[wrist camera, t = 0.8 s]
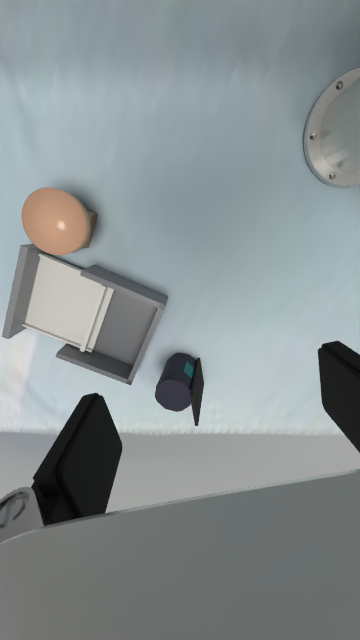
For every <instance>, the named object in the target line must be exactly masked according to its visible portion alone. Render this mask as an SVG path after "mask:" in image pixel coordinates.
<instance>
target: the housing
mask: <svg viewBox="0 0 360 640" xmlns="http://www.w3.org/2000/svg"><path fill="white" fill-rule="evenodd" d="M80 275H81V276H83V277H85V278H88V279H90V280H92V281H95V282H97V283H100V284H102V285H104V286H107V287H109V288H111V289H114V293H113V296H112V298H111V301H110V304H109V307H108V310H107V313H106V316H105V318H104V321H103V324H102V327H101V330H100V333H99V335H98V338H97V341H96V344H95V347H94V349H93V351H92V352H88V351H86V350H85V351H84V352H82V351H80V348H78V347H75V346H73V345H70V344H68V343H67V344H66V345H65V346H64V347H62V348H61V349H60V350H59V351H58V352H57V354H56V357H57V358H60V359H62V360H65V361H68V362H70V363H73V364H76V365H78V366H81V367H84V368H86V369H89V370H92V371H94V372H97V373H100V374H102V375H105V376H107V377H110V378H113V379H115V380H118V381H121V382H123V383H126V384H129V385H131V384H132V382H133V379H134V377H135V375H136V372H137V370H138V368H139V365H140V363H141V361H142V358H143V356H144V354H145V352H146V349H147V347H148V345H149V342H150V340H151V338H152V335H153V333H154V331H155V329H156V326H157V324H158V322H159V319H160V317H161V315H162V312H163V310H164V308H165V305H166V302H167V298H168V296H165V295H163V294H161V293H158V292H156V291H154V290H151V289H149V288H147V287H144V286H142V285H140V284H137V283H135V282H133V281H130V280H128V279H126V278H123V277H121V276H119V275H116V274H114V273H112V272H109V271H107V270H105V269H102V268H100V267H98V266H95V265H93V266H91V267H88V268H85V269H83V270H81V274H80Z"/></svg>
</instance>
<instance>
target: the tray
mask: <svg viewBox="0 0 360 640" xmlns="http://www.w3.org/2000/svg"><path fill="white" fill-rule="evenodd" d="M45 253H46V252H44V251H42V250H41V249H39V248H38V247H37V246H35V245H34V244H29V245H21V247H20V252H19V256H18V261H17V266H16V271H15V276H14V281H13V285H12V290H11V295H10V300H9V305H8V310H7V314H6V319H5V324H4V329H3V334H2V337H4V338H7V339H9V338H11V337H13V336H14V335H16V334H18V333H19V332H21V331H22V330H24V329H26V328H29V329H31V330H34V331H37V332H39V333H42V334H44V335H47V336H49V337H52V338H55V339H57V340H60V341H62V342H65V343H68V344H70V345H73V346H75V347H78V348H80V351H82V352H84V351H85V350H86V351H88V352H92V351H93V349H94V347H95V344H96V341H97V338H98V335H99V333H100V330H101V327H102V324H103V321H104V318H105V316H106V313H107V310H108V307H109V304H110V301H111V298H112V296H113V293H114V289H111V288H109V287H107V286H104V285H102V284H100V283H97V282H95V281H92V280H90V279H88V278H85V277H83V276H81V275H80V274H81V270H82V269H80V268H77V267H75V266H73V265H70V264H68V263H66V262H63V261H61V260H58V259H56V258H54V257H51V256H49V255H47V254H45Z"/></svg>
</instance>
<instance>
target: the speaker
mask: <svg viewBox="0 0 360 640" xmlns="http://www.w3.org/2000/svg"><path fill="white" fill-rule="evenodd" d="M203 387H204V381H203V374H202V368H201V361H200V358H198V360H197V363H196V362H195V361H194V360H193V359H192V358H191V357H190V356H188V355H183V354H176V355H174V356H173V357H171V358H170V359H169V360H168V361H167V364H166V366H165V368H164V370H163V373H162V375H161V377H160V380H159V382H158V384H157V386H156V392H155V398H156V400H157V402H158V403H159V404H161V405H162V406H163V407H164V408H165V409H168V410H172V411H176V412H177V411H182V410H184V409H185V408H187V407H188V406H190V404H191V405H192V410H193V416H194V421H195V426H198V422H199V415H200V408H201V401H202V394H203Z"/></svg>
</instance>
